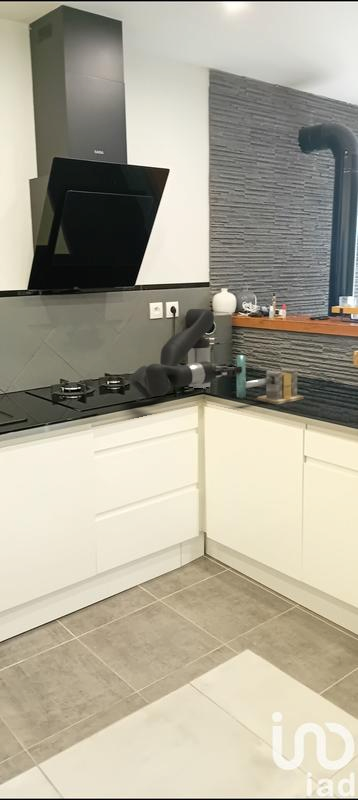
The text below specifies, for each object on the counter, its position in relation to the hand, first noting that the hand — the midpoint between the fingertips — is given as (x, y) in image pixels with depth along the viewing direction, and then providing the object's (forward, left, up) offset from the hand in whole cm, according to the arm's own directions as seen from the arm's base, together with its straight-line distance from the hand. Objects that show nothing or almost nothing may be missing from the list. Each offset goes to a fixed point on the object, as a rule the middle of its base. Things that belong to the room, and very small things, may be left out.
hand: (233, 367), depth 222 cm
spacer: (+19, +14, -14) cm, 27 cm away
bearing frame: (+19, +13, -15) cm, 28 cm away
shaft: (+9, +6, -11) cm, 15 cm away
